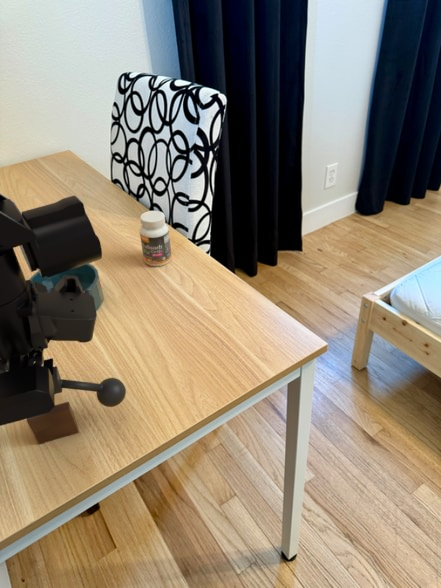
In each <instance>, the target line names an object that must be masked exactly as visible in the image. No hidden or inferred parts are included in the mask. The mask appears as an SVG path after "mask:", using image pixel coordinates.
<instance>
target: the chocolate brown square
mask: <svg viewBox="0 0 441 588" xmlns="http://www.w3.org/2000/svg"><path fill="white" fill-rule="evenodd" d="M26 422H27V424H28V426H29V428H30V430H31V432H32V434H33V436H34V438H35V440H36V442H37V444H38V445H41V444H44V443H48V442H51V441H55V440H59V439H62V438H65V437H69V436H71V435H76V434H78V433H80V432H79V431H80V430H79V424H78V421H77V419H76V417H75V414H74V411H73V409H72V406H71V403H70V401H66V402H63V403H58V404H55V407H54V408H53V409H52V410H51V411H50V412H49V413H45V414H42V415H38V416H35V417H31V418H27V419H26Z"/></svg>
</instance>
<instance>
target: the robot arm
mask: <svg viewBox="0 0 441 588" xmlns="http://www.w3.org/2000/svg"><path fill="white" fill-rule="evenodd" d="M84 205H85V204H84V202H83V201H81V199H79V197H78V196H76V195H71V196H70V195H69V196H67V197H64V198H61V199H60V200H57V201H55V202H53V203H49V204H45V205H42V206H38V207H34V208H30V209H27V210H24V211H20V209H19V208H18V206H17V205H16V203H15V202H14V201H13V200H11V198H8V197H7V196H5V195H3V194H2V193H0V427H3V426H5V425H9V424H13V423H17V422H20V421H23V420H27V418H31V417H35V416H38V415H42V414H45V413H49V412H50V411H51V410H52V409H53V408H54V407H55V405H56V401H55V399H56V398H55V394H54V384H53V379H52V377H53V374H54V370H53V367H54V358H53V357H51V358H47V359H45V355H44V350H46V349H48V348H49V344H50V342H51V341H55V342H78V343H81V344H83V343H89V342H91V341H92V340H93V337H94V331H95V327H96V322H97V317H98V316H97V315H98V314H97V311H96V308H95V302H94V298H93V296H91V295H90V294H89V290H85V293H84V292H83V290H82V286H81V284H80V282H79V280H78V277H77V276H69V275H64V276H63V277H62V279H61V280H60V281H59V282H58V283H57V285H56V286H55V288H51V289H50V292H48V290H47V287H46V286H44V285H42V284H40V283H38V282H33V283H31V280H29V279H26V277H25V274H24V271H23V270H22V266H21V264H20V262H19V259H18V256H17V254H16V251H15V248H17V247H19V249H20V251H21V254H22V256H23V258H24V260H25V262H26V265H27V267H28V269H29V271H30V272H31V273H33V272H37V271H39V272H40V275H41V277H42V278H43V277H47V278H48V277H51V276H54V275H57V274H60V273H62V272H65V271H68V270H71V269H74V268H77V267H80V266H83V265H86V264H88V263H89V264H92V263H94V262H97V261H99V260H102V258H103V250H102V244H101V240H100V238H99V237H98V235H97V234H96V232H95V229H94V227H93V225H92V222H91V219H90V217H88V214H87V213H86V210H85V206H84Z"/></svg>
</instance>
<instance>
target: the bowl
mask: <svg viewBox="0 0 441 588" xmlns="http://www.w3.org/2000/svg"><path fill="white" fill-rule="evenodd" d="M64 275H69V276H77V277H78V280H79V282H80V284H81V286H82V290H83V292H84V293H85V290H89V294H90V295H91V296H93V298H94V302H95V308H96V312H97V311H98V310H99V309H100V308H101V306H102V305H103V302H104V290H103V287H102V283H101V279H100V274H99V271H98V269H97V268H96V267H95V266H94V265H93V264H92V263H88V264H86V265H83V266H80V267H77V268H74V269H71V270H68V271H65V272H62V273H60V274H57V275H54V276H51V277H48V278H47V277H43V278H42V277H41V275H40V272H39V270H37V271H35V273H34V274H33V275H32V276H31V277H30V278H29V279H28V280H31V283H33V282H38V283H40V284H42V285H44V286H46V287H47V290H48V292H50V289H51V288H55V286H56V285H57V283H58V282H59V281H60V280H61V279H62V277H63V276H64Z"/></svg>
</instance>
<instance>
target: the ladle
mask: <svg viewBox="0 0 441 588" xmlns="http://www.w3.org/2000/svg"><path fill="white" fill-rule="evenodd" d="M53 370H54V374H53V377H52V379H53V384H54V395H58V394H61V393H63V389H69V390H78V391H86V392H96V394H95V395H96V398H97V400H98V402H99V403H100V405H102V406H104V407H107V408H112V407H117V406H119V405H120V404H121V403H122V402H123V401H124V399H125V398H126V394H127V389H126V386H125V384H124V383H123V382H122V380H120V379H119V378H115V377H108V378H105V379H104V380H102V381H101V382H100V383H98V382H89V381H82V380H81V381H80V380H72V379H64V378H63V379H62V378H61V374H60V372H59V369H58V366H57V365H55V366H53Z"/></svg>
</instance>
